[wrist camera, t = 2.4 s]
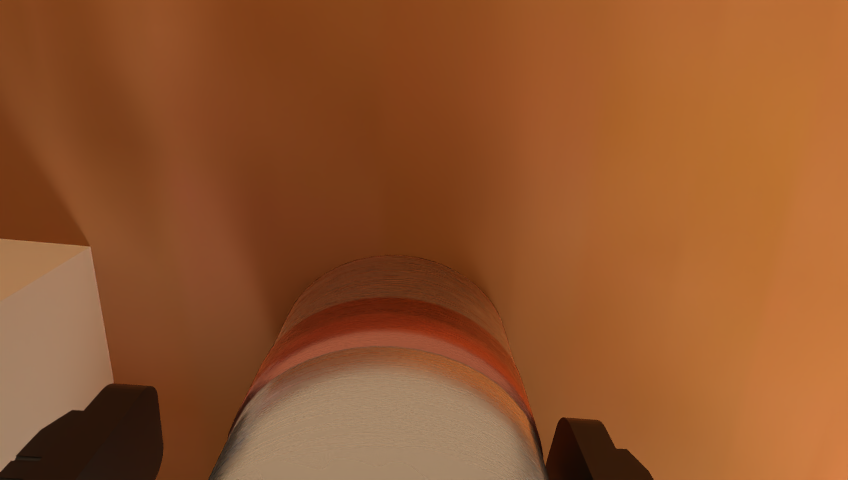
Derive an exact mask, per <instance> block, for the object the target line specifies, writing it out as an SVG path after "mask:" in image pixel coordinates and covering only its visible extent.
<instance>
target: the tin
mask: <svg viewBox="0 0 848 480" xmlns="http://www.w3.org/2000/svg"><path fill="white" fill-rule="evenodd" d="M208 480H549V477H548V474H547V470H546V467H545V464H544V460H543V452H542V446H541V441H540V438H539V434H538V431H537V428H536V424H535V421H534V418H533V415H532V411H531V408H530V405H529V402H528V398H527V395H526V392H525V388H524V385H523V382H522V380H521V377H520V374H519V371H518V369H517V367H516V366H515V363H514V360H513V356H512V353H511V350H510V346H509V343H508V340H507V336H506V333H505V330H504V327H503V324H502V321H501V319H500V317H499V315H498V313H497V311H496V309H495V307H494V306H493V304H492V303H491V302H490V300H489V299H488V298H487V296H486V295H485V294H484V293H483V292H482V291H481V290H480V289H479V288H478V287H477V286H476V285H475V284H474V283H472V282H471V281H470V280H468V279H467V278H466V277H464V276H463V275H461V274H459V273H458V272H456V271H454V270H452V269H451V268H448V267H446V266H444V265H441V264H439V263H436V262H433V261H429V260H426V259H422V258H417V257H410V256H400V255H384V256H373V257H368V258H363V259H359V260H355V261H352V262H349V263H346V264H344V265H341V266H339V267H337V268H335V269H333V270H331V271H329V272H327V273H326V274H324V275H323V276H321V277H320V278H319V279H317V280H316V281H315V282H313V283H312V284H311V285H310V286H309V287H308V288H307V289H306V290H305V291H304V292H303V293H302V295H301V296H300V297H299V298H298V299H297V301H296V302H295V304H294V306H293V307H292V309H291V311H290V312H289V314H288V316H287V319H286V321H285V323H284V325H283V327H282V329H281V331H280V333H279V335H278V337H277V339H276V341H275V343H274V345H273V347H272V349H271V350H270V351H269V353H268V354H267V356H266V358H265V359H264V361H263V363H262V364H261V366H260V369H259V371H258V373H257V375H256V377H255V379H254V381H253V383H252V385H251V387H250V389H249V391H248V393H247V395H246V397H245V399H244V401H243V403H242V405H241V407H240V409H239V411H238V413H237V415H236V417H235V419H234V422H233V424H232V427H231V429H230V432H229V435H228V440H227V442H226V444H225V446H224V448H223V450H222V452H221V454H220V456H219V458H218V460H217V463H216V465H215V467H214V469H213V471H212V473H211V475H210V477H209V479H208Z"/></svg>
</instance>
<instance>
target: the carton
mask: <svg viewBox="0 0 848 480" xmlns="http://www.w3.org/2000/svg"><path fill="white" fill-rule="evenodd" d="M109 384H114V379H113V373H112V368H111V362H110V356H109V350H108V345H107V339H106V333H105V327H104V322H103V316H102V310H101V304H100V299H99V293H98V287H97V281H96V276H95V270H94V264H93V258H92V253H91V247H90V246H79V245H67V244H56V243H45V242H33V241H22V240H11V239H0V472H1V471H2V470H3V469H4V468H5V466H6V465H7V464H8V463H9V462H10V461H14V460H15V458H16V455H17V454H18V453H19V452H20V451H21V450H22V449H23V448H24V447H25V445H26V444H27V443H28V442H29V441H30V440H31V439H32V438H33V437H34V436H35V435H36V434H37V433H38V432H39V431H40V430H41V429H43V428H44V427H46V426H47V425H49V424H51V423H52V422H54V421H55V420H57V419H58V418H60V417H62V416H63V415H65V414H66V413H68V412H69V411H71V410H81V411H84V409H85V408H86V407H87V406H88V405H89V404H90V403H91V402H92V400H93V399H94V398H95V397H96V396H97V395H98V394H99V393H100V391H101V390H102V389H103V388H104V387H106V386H107V385H109Z"/></svg>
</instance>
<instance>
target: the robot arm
mask: <svg viewBox="0 0 848 480" xmlns="http://www.w3.org/2000/svg"><path fill="white" fill-rule="evenodd" d="M162 456H163V439H162V430H161V421H160V412H159V404H158V395H157V391H156V389H155V388H154V387H152V386H141V385H127V384H109V385H107V386H106V387H104V388H103V389H102V390H101V391H100V393H99V394H98V395H97V396H96V397H95V398H94V399H93V400H92V402H91V403H90V404H89V405H88V406H87V407H86V408H85V409H84V411H81V410H71V411H69V412H68V413H66V414H65V415H63V416H62V417H60V418H58V419H57V420H55V421H54V422H52V423H51V424H49V425H47V426H46V427H44V428H43V429H41V430H40V431H39V432H38V433H37V434H36V435H35V436H34V437H33V438H32V439H31V440H30V441H29V442H28V443H27V444H26V445H25V447H24V448H23V449H22V450H21V451H20V452H19V453H18V454H17V455H16V458H15V460H14V461H10V462H9V463H8V464H7V465H6V466H5V468H4V469H3V470H2V471H1V472H0V480H155V479H156V476H157V474H158V471H159V469H160V465H161V461H162ZM545 467H546V470H547V474H548V477H549V480H653V478H652V476H651V474H650V473H649V471H648V470H647V469H646V468H645V467H644V466H643V465H642V464H641V463H640V462H639V461H638V460H637V459H636V458H635V457H634V456H633V455H632V454H631V453H630V452H629V451H628V450H627V449H616V448H615V446H614V444H613V442H612V440H611V438H610V436H609V434H608V432H607V430H606V428H605V427H604V425H603V424H602V422H600V421H599V420H590V419H576V418H561V419H560V420H559V422H558V424H557V428H556V431H555V435H554V438H553V442H552V445H551V449H550V452H549V456H548V459H547V463H546V466H545Z"/></svg>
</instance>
